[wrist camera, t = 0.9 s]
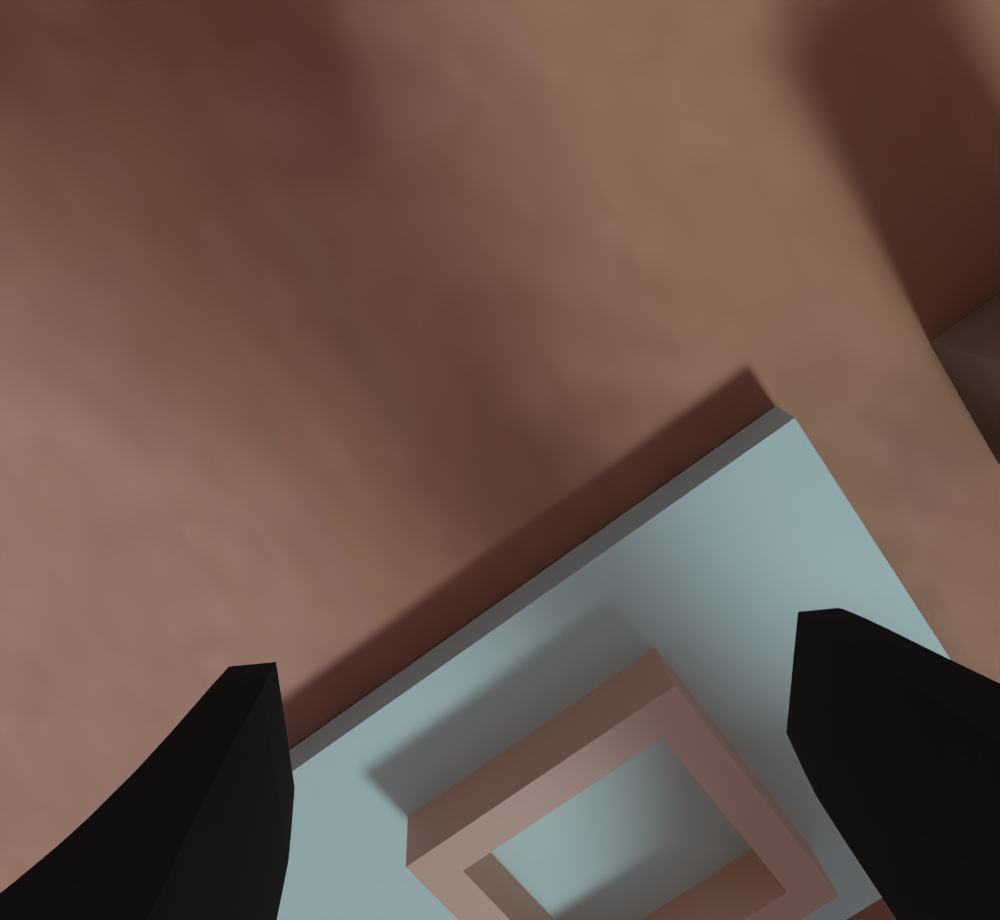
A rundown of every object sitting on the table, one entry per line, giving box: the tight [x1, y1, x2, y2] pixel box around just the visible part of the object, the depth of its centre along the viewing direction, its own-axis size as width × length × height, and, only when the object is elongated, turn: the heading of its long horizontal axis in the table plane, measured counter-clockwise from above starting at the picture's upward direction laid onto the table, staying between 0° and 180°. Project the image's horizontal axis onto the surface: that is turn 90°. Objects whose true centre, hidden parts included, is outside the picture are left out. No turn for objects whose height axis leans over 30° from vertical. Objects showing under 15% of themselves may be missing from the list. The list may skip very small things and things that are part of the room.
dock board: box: [277, 407, 951, 920], centre depth 23 cm, size 14×20×3 cm
